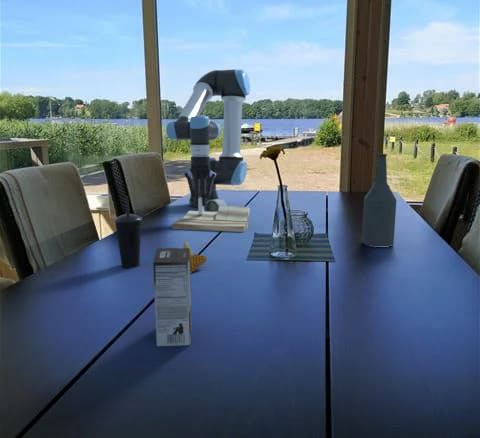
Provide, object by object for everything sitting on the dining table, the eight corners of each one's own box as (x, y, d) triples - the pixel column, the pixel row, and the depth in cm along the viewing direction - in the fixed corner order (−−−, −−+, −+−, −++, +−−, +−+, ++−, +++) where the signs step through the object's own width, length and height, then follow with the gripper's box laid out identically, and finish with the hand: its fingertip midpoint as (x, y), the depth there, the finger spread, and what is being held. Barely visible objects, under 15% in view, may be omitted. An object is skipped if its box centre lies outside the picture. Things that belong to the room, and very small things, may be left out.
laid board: (180, 223, 183) (179, 218, 182) (248, 226, 177) (248, 221, 177) (172, 228, 174) (172, 223, 173) (243, 231, 168) (243, 226, 168)
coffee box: (159, 325, 91) (156, 247, 87) (192, 324, 91) (190, 246, 88) (155, 347, 82) (151, 261, 78) (191, 345, 82) (189, 260, 79)
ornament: (205, 257, 120) (202, 232, 134) (166, 266, 120) (167, 240, 133) (210, 278, 123) (207, 252, 136) (173, 287, 123) (173, 260, 136)
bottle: (394, 249, 145) (401, 154, 139) (363, 247, 147) (368, 154, 141) (390, 241, 155) (396, 152, 148) (361, 239, 157) (365, 152, 150)
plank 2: (220, 209, 187) (219, 205, 186) (249, 210, 185) (249, 206, 183) (215, 223, 181) (215, 219, 179) (246, 224, 178) (245, 220, 177)
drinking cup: (149, 262, 131) (146, 194, 127) (135, 270, 124) (131, 198, 120) (126, 260, 134) (122, 193, 130) (111, 268, 127) (106, 197, 123)
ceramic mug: (228, 215, 200) (228, 197, 198) (219, 218, 193) (218, 200, 191) (207, 213, 205) (207, 196, 203) (198, 216, 197) (197, 199, 196)
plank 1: (189, 215, 191) (188, 210, 190) (218, 216, 188) (217, 211, 188) (183, 223, 183) (182, 218, 182) (212, 224, 181) (212, 219, 180)
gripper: (181, 156, 178) (183, 214, 183) (213, 156, 176) (214, 216, 180) (187, 154, 185) (188, 211, 190) (218, 155, 183) (218, 212, 187)
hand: (201, 213), depth 185 cm, fingers closed
